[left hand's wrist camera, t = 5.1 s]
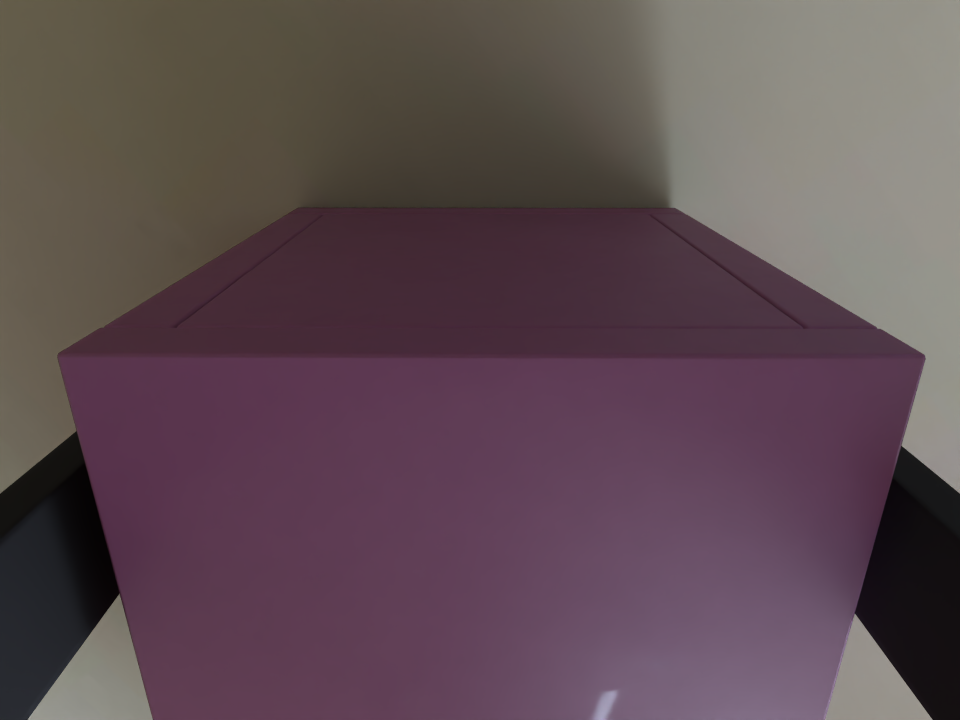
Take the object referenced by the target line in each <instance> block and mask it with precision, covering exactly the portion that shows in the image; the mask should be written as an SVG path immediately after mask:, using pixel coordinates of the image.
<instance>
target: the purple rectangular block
mask: <svg viewBox="0 0 960 720" xmlns="http://www.w3.org/2000/svg"><path fill="white" fill-rule="evenodd" d="M57 358H58V362H59V365H60V369H61V373H62V377H63V380H64V384H65V388H66V392H67V396H68V399H69V403H70V407H71V411H72V415H73V418H74V422H75V426H76V430H77V434H78V437H79V441H80V445H81V449H82V452H83V456H84V460H85V464H86V468H87V471H88V475H89V479H90V483H91V487H92V490H93V494H94V498H95V502H96V506H97V509H98V513H99V517H100V521H101V524H102V528H103V532H104V536H105V540H106V543H107V547H108V551H109V555H110V559H111V562H112V566H113V570H114V574H115V578H116V581H117V585H118V589H119V593H120V596H121V600H122V604H123V608H124V612H125V615H126V619H127V623H128V627H129V631H130V634H131V638H132V642H133V646H134V649H135V653H136V657H137V661H138V665H139V668H140V672H141V676H142V680H143V684H144V687H145V691H146V695H147V699H148V703H149V706H150V710H151V714H152V718H153V720H825V718H826V714H827V711H828V707H829V703H830V700H831V696H832V693H833V689H834V686H835V682H836V678H837V675H838V671H839V668H840V664H841V660H842V657H843V653H844V650H845V646H846V642H847V639H848V635H849V632H850V628H851V624H852V621H853V617H854V614H855V610H856V607H857V603H858V599H859V596H860V592H861V589H862V585H863V581H864V578H865V574H866V571H867V567H868V563H869V560H870V556H871V553H872V549H873V545H874V542H875V538H876V535H877V531H878V527H879V524H880V520H881V517H882V513H883V510H884V506H885V502H886V499H887V495H888V492H889V488H890V484H891V481H892V477H893V474H894V470H895V466H896V463H897V459H898V456H899V452H900V448H901V445H902V441H903V438H904V434H905V430H906V427H907V423H908V420H909V416H910V413H911V409H912V405H913V402H914V398H915V395H916V391H917V387H918V384H919V380H920V377H921V373H922V369H923V366H924V362H925V355H924V354H922V353H921V352H919V351H917V350H915V349H914V348H912V347H910V346H909V345H907V344H905V343H904V342H902V341H900V340H899V339H897V338H895V337H893V336H892V335H890V334H888V333H887V332H885V331H883V330H881V329H877V327H875V326H874V325H872V324H870V323H868V322H867V321H865V320H863V319H862V318H860V317H858V316H857V315H855V314H853V313H852V312H850V311H848V310H847V309H845V308H843V307H841V306H840V305H838V304H836V303H835V302H833V301H831V300H830V299H828V298H826V297H825V296H823V295H821V294H820V293H818V292H816V291H815V290H813V289H811V288H809V287H808V286H806V285H804V284H803V283H801V282H799V281H798V280H796V279H794V278H793V277H791V276H789V275H788V274H786V273H784V272H782V271H781V270H779V269H777V268H776V267H774V266H772V265H771V264H769V263H767V262H766V261H764V260H762V259H761V258H759V257H757V256H755V255H754V254H752V253H750V252H749V251H747V250H745V249H744V248H742V247H740V246H739V245H737V244H735V243H734V242H732V241H730V240H729V239H727V238H725V237H723V236H722V235H720V234H718V233H717V232H715V231H713V230H712V229H710V228H708V227H707V226H705V225H703V224H702V223H700V222H698V221H696V220H695V219H693V218H691V217H690V216H688V215H686V214H684V213H683V212H681V211H679V210H678V209H676V208H297V209H295V210H293V211H292V212H290V213H289V214H287V215H285V216H284V217H282V218H280V219H279V220H277V221H275V222H274V223H272V224H271V225H269V226H267V227H266V228H264V229H262V230H261V231H259V232H258V233H256V234H254V235H253V236H251V237H249V238H248V239H246V240H244V241H243V242H241V243H240V244H238V245H236V246H235V247H233V248H231V249H230V250H228V251H227V252H225V253H223V254H222V255H220V256H218V257H217V258H215V259H213V260H212V261H210V262H209V263H207V264H205V265H204V266H202V267H200V268H199V269H197V270H196V271H194V272H192V273H191V274H189V275H187V276H186V277H184V278H183V279H181V280H179V281H178V282H176V283H174V284H173V285H171V286H169V287H168V288H166V289H165V290H163V291H161V292H160V293H158V294H156V295H155V296H153V297H152V298H150V299H148V300H147V301H145V302H143V303H142V304H140V305H138V306H137V307H135V308H134V309H132V310H130V311H129V312H127V313H125V314H124V315H122V316H121V317H119V318H117V319H116V320H114V321H112V322H111V323H109V324H107V325H106V326H105V327H104V328H99V329H97V330H96V331H94V332H93V333H91V334H89V335H88V336H86V337H84V338H83V339H81V340H79V341H78V342H76V343H75V344H73V345H71V346H70V347H68V348H66V349H65V350H63V351H61V352H60V353H58V357H57Z"/></svg>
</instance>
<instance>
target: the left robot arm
mask: <svg viewBox="0 0 960 720" xmlns="http://www.w3.org/2000/svg"><path fill="white" fill-rule="evenodd" d="M118 595H119V589H118V585H117V581H116V578H115V574H114V570H113V566H112V562H111V559H110V555H109V551H108V547H107V543H106V540H105V536H104V532H103V528H102V524H101V521H100V517H99V513H98V509H97V506H96V502H95V498H94V494H93V490H92V487H91V483H90V479H89V475H88V471H87V468H86V464H85V460H84V456H83V452H82V449H81V445H80V441H79V437H78V434H77V431H76V432H75V433H74V434H72V435H71V436H70V437H69V438H68V439H66V440H65V441H64V442H63V443H62V444H60V445H59V446H58V447H57V448H55V449H54V450H53V451H52V452H51V453H49V454H48V455H47V456H46V457H44V458H43V459H42V460H41V461H40V462H38V463H37V464H36V465H35V466H33V467H32V468H31V469H30V470H29V471H27V472H26V473H25V474H24V475H23V476H21V477H20V478H19V479H18V480H16V481H15V482H14V483H13V484H12V485H10V486H9V487H8V488H7V489H5V490H4V491H3V492H2V493H1V494H0V720H27V719H28V718H29V717H30V715H31V714H32V713H33V711H34V710H35V708H36V707H37V706H38V704H39V703H40V702H41V700H42V699H43V697H44V696H45V695H46V693H47V692H48V691H49V689H50V688H51V687H52V685H53V684H54V682H55V681H56V680H57V678H58V677H59V676H60V674H61V673H62V671H63V670H64V669H65V667H66V666H67V665H68V663H69V662H70V661H71V659H72V658H73V656H74V655H75V654H76V652H77V651H78V650H79V648H80V647H81V645H82V644H83V643H84V641H85V640H86V639H87V637H88V636H89V635H90V633H91V632H92V630H93V629H94V628H95V626H96V625H97V624H98V622H99V621H100V619H101V618H102V617H103V615H104V614H105V613H106V611H107V610H108V609H109V607H110V606H111V604H112V603H113V602H114V600H115V599H116V598H117V596H118ZM855 614H856V615H857V617H858V618H859V619H860V621H861V622H862V624H863V625H864V626H865V628H866V629H867V630H868V632H869V633H870V635H871V636H872V637H873V639H874V640H875V641H876V643H877V644H878V645H879V647H880V648H881V650H882V651H883V652H884V654H885V655H886V656H887V658H888V659H889V661H890V662H891V663H892V665H893V666H894V667H895V669H896V670H897V671H898V673H899V674H900V676H901V677H902V678H903V680H904V681H905V682H906V684H907V685H908V687H909V688H910V689H911V691H912V692H913V693H914V695H915V696H916V697H917V699H918V700H919V702H920V703H921V704H922V706H923V707H924V708H925V710H926V711H927V713H928V714H929V715H930V717H931V718H932V719H933V720H960V494H959V493H958V492H957V491H956V490H955V489H953V488H952V487H951V486H950V485H948V484H947V483H946V482H945V481H944V480H942V479H941V478H940V477H939V476H937V475H936V474H935V473H934V472H933V471H931V470H930V469H929V468H928V467H927V466H925V465H924V464H923V463H922V462H920V461H919V460H918V459H917V458H916V457H914V456H913V455H912V454H911V453H909V452H908V451H907V450H906V449H905V448H903V447H902V446H901V448H900V452H899V456H898V459H897V463H896V466H895V470H894V474H893V477H892V481H891V484H890V488H889V492H888V495H887V499H886V502H885V506H884V510H883V513H882V517H881V520H880V524H879V527H878V531H877V535H876V538H875V542H874V545H873V549H872V553H871V556H870V560H869V563H868V567H867V571H866V574H865V578H864V581H863V585H862V589H861V592H860V596H859V599H858V603H857V607H856V610H855Z"/></svg>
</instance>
